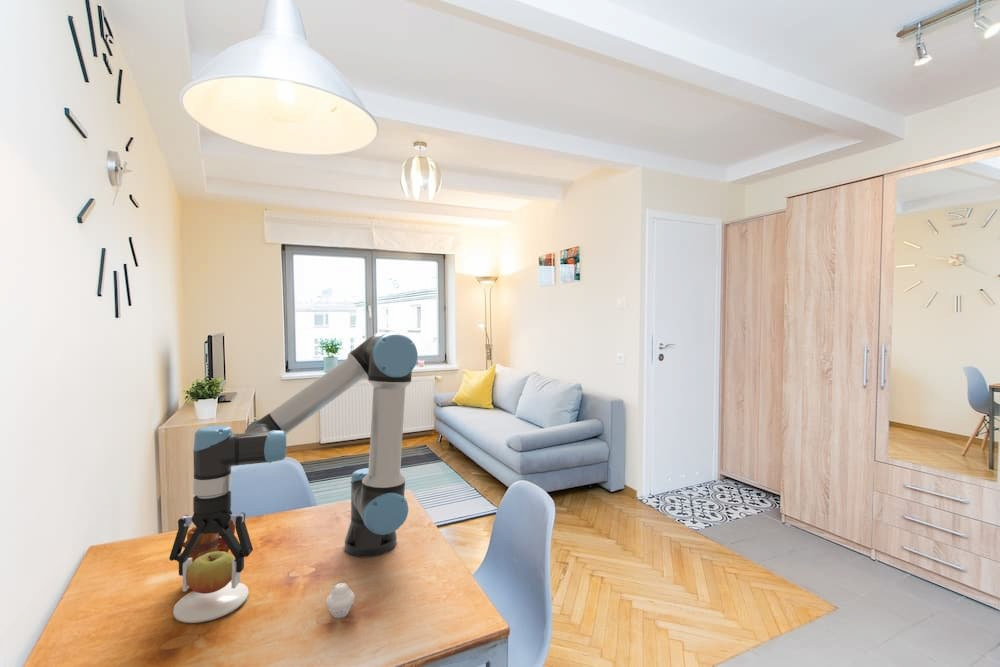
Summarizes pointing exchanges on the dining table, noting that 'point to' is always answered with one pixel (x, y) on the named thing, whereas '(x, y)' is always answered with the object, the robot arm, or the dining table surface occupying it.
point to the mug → (207, 543)
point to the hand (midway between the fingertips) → (211, 586)
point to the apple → (210, 572)
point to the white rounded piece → (340, 600)
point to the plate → (210, 604)
